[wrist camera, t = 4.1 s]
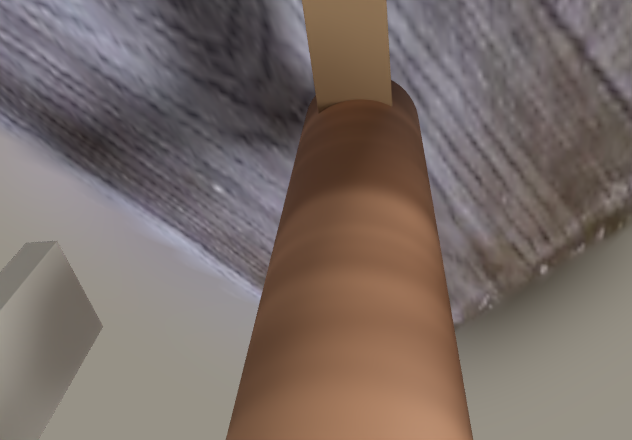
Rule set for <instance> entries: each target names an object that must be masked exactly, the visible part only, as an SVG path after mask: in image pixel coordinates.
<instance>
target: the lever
mask: <svg viewBox="0 0 632 440" xmlns="http://www.w3.org/2000/svg"><path fill="white" fill-rule="evenodd" d="M302 4H303V11H304V17H305V24H306V31H307V38H308V45H309V52H310V58H311V65H312V72H313V79H314V86H315V92H316V95H315V97H314V98H313V100H312V101H311V103H310V105H309V108H308V111H307V114H306V118H305V122H304V126H303V130H302V134H301V138H300V142H299V146H298V150H297V154H296V158H295V162H294V166H293V170H292V175H291V179H290V183H289V187H288V191H287V195H286V199H285V203H284V207H283V211H282V215H281V219H280V223H279V227H278V231H277V235H276V239H275V243H274V247H273V251H272V255H271V259H270V263H269V267H268V272H267V276H266V280H265V284H264V288H263V292H262V296H261V300H260V304H259V308H258V312H257V316H256V320H255V324H254V328H253V332H252V336H251V341H250V344H249V348H248V353H247V356H246V360H245V364H244V369H243V373H242V377H241V381H240V385H239V389H238V393H237V397H236V401H235V405H234V409H233V413H232V417H231V421H230V425H229V429H228V434H227V437H226V440H473V436H472V430H471V424H470V419H469V413H468V407H467V402H466V395H465V389H464V383H463V377H462V372H461V366H460V360H459V354H458V348H457V342H456V336H455V330H454V325H453V319H452V313H451V307H450V301H449V295H448V289H447V284H446V278H445V272H444V266H443V260H442V254H441V248H440V242H439V237H438V231H437V225H436V219H435V213H434V207H433V201H432V196H431V190H430V184H429V178H428V172H427V166H426V160H425V154H424V149H423V143H422V137H421V131H420V125H419V119H418V114H417V110H416V107H415V105H414V103H413V101H412V99H411V98H410V96H409V95H408V94H407V92H406V91H405V90H404V89H403V88H402V87H401V86H400V85H398V84H397V83H395V82H394V81H392V80H391V75H390V57H389V40H388V22H387V5H386V0H302Z"/></svg>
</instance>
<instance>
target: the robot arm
mask: <svg viewBox="0 0 632 440" xmlns="http://www.w3.org/2000/svg"><path fill="white" fill-rule="evenodd" d="M102 328H103V326H102V324H101V322H100V320H99V318H98V316H97V314H96V313H95V311H94V309H93V307H92V305H91V303H90V301H89V300H88V298H87V296H86V294H85V292H84V290H83V288H82V286H81V285H80V283H79V281H78V279H77V277H76V275H75V273H74V271H73V270H72V268H71V266H70V264H69V262H68V260H67V258H66V257H65V255H64V253H63V251H62V249H61V247H60V245H59V244H58V242H57V241H48V242H32V243H26V244H25V245H24V246H23V247H22V248H21V250H19V252H18V253H17V254H16V255H15V256H14V257H13V258H12V259H11V261H10V262H9V263H8V264H7V265H6V266H5V267H4V268H3V270H2V271H1V272H0V440H39V438H40V436H41V434H42V433H43V431H44V429H45V428H46V426H47V424H48V422H49V420H50V419H51V417H52V415H53V414H54V412H55V410H56V408H57V407H58V405H59V403H60V401H61V400H62V398H63V396H64V394H65V393H66V391H67V389H68V387H69V386H70V384H71V382H72V380H73V378H74V377H75V375H76V373H77V371H78V369H79V368H80V366H81V364H82V363H83V361H84V359H85V357H86V356H87V354H88V352H89V350H90V348H91V347H92V345H93V343H94V342H95V340H96V338H97V336H98V335H99V333H100V331H101V329H102Z"/></svg>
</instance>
